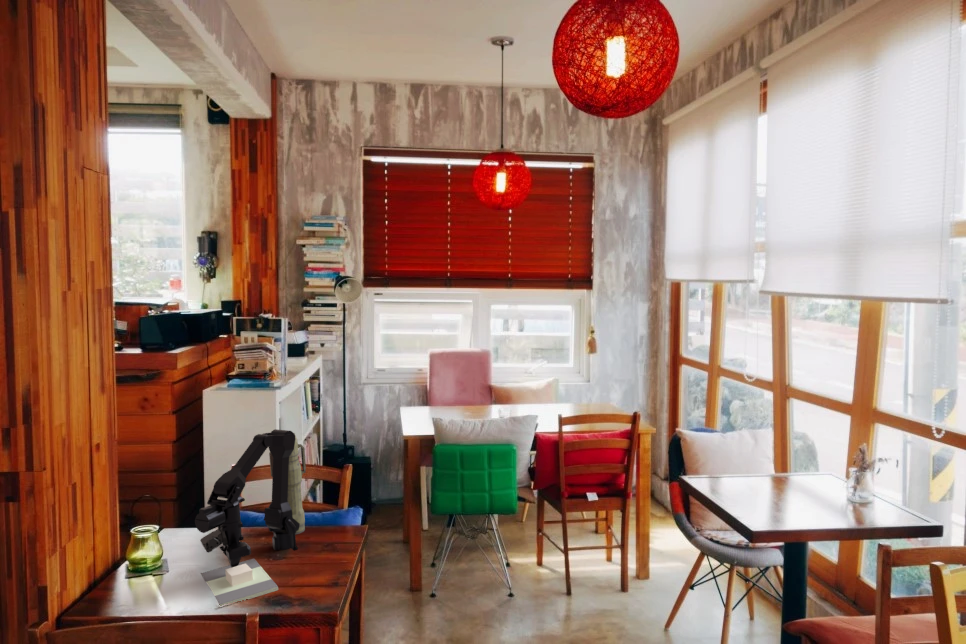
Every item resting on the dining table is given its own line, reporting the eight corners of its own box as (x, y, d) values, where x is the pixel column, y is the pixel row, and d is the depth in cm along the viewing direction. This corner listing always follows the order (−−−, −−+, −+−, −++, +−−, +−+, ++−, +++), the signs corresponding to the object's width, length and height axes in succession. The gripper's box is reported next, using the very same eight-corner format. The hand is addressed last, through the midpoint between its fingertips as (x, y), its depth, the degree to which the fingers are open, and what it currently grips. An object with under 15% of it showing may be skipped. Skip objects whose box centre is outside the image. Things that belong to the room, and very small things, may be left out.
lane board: (254, 561, 215) (254, 558, 215) (278, 590, 195) (278, 586, 195) (201, 576, 206) (200, 573, 206) (220, 607, 186) (220, 604, 186)
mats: (254, 558, 215) (254, 558, 215) (278, 586, 195) (278, 586, 195) (200, 573, 206) (200, 573, 206) (220, 604, 186) (220, 604, 186)
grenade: (271, 531, 239) (264, 434, 236) (304, 522, 246) (298, 428, 243) (279, 539, 232) (272, 438, 229) (312, 530, 238) (306, 432, 235)
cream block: (246, 572, 205) (245, 563, 204) (253, 579, 200) (252, 570, 199) (226, 579, 201) (225, 569, 201) (232, 586, 196) (231, 576, 196)
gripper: (194, 517, 205) (198, 567, 207) (209, 537, 190) (213, 590, 192) (232, 508, 212) (236, 557, 213) (249, 526, 196) (253, 578, 198)
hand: (234, 570), depth 204 cm, fingers closed
